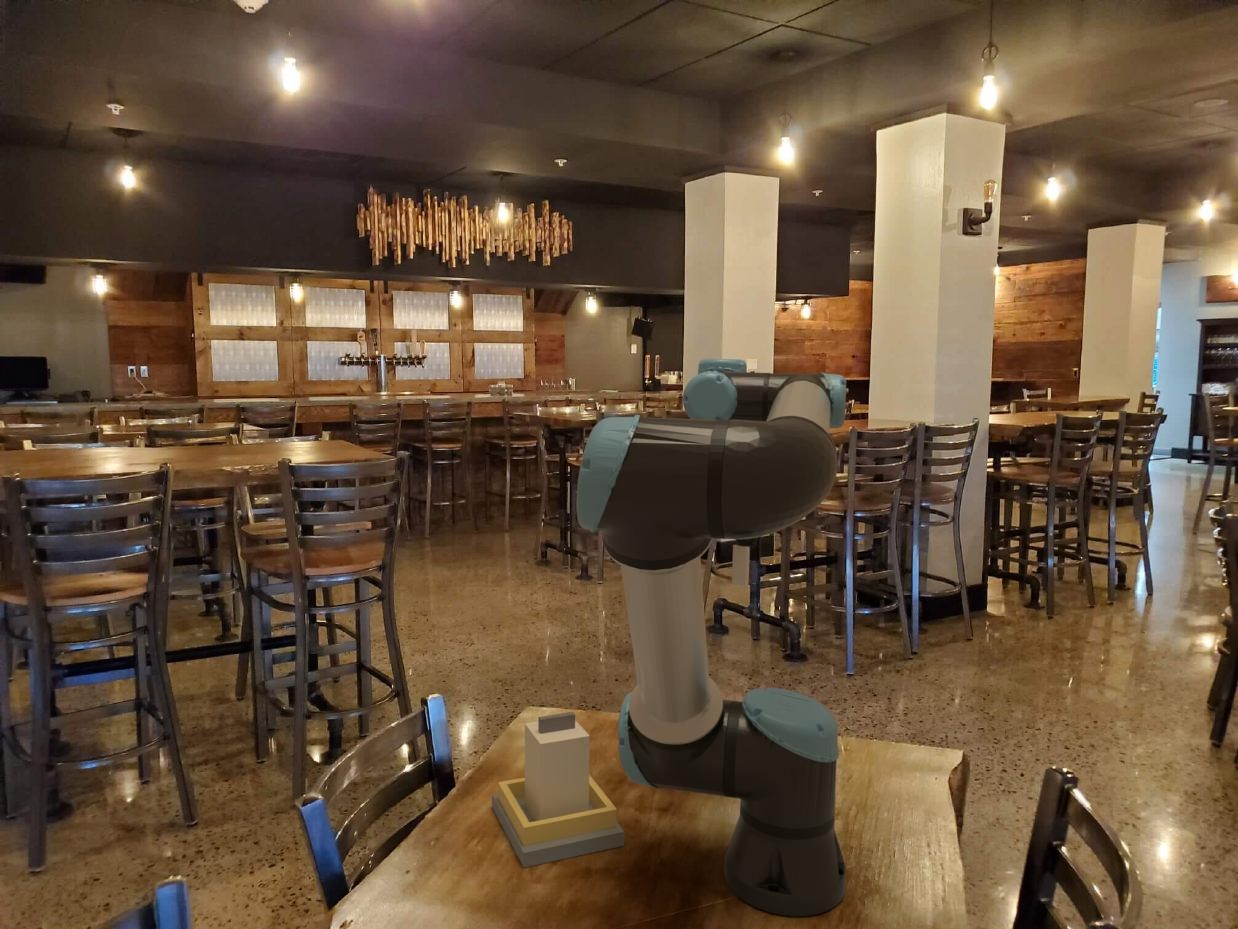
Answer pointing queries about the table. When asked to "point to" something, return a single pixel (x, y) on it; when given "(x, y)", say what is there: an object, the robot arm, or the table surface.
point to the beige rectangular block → (556, 767)
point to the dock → (556, 826)
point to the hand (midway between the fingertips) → (715, 593)
